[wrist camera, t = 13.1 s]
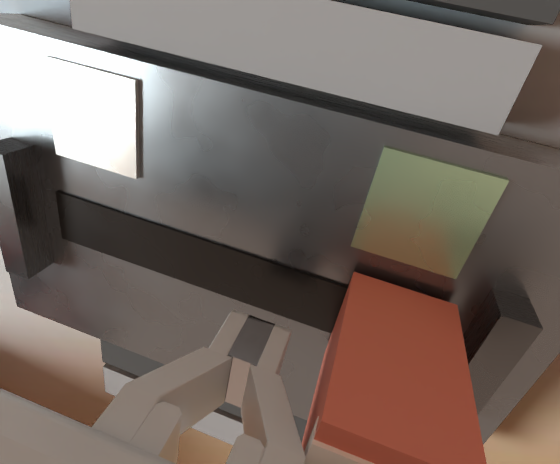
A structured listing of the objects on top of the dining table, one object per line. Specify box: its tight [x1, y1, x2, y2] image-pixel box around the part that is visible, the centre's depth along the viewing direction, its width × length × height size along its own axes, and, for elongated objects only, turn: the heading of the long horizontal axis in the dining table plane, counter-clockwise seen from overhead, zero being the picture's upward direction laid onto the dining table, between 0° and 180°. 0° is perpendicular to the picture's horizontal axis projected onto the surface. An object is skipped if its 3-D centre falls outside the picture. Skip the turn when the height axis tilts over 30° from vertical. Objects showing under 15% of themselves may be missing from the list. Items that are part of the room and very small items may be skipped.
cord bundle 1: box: [101, 340, 307, 445], centre depth 19 cm, size 4×12×2 cm, turn 79°
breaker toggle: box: [302, 272, 486, 464], centre depth 10 cm, size 4×3×5 cm
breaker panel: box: [0, 13, 560, 444], centre depth 13 cm, size 12×20×4 cm, turn 79°
